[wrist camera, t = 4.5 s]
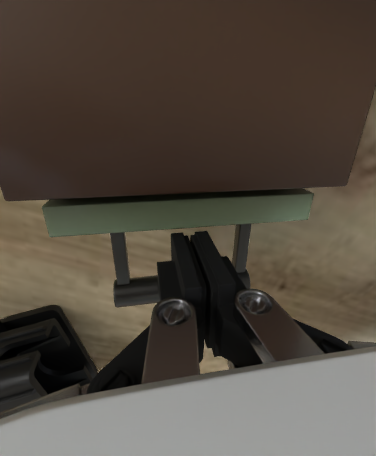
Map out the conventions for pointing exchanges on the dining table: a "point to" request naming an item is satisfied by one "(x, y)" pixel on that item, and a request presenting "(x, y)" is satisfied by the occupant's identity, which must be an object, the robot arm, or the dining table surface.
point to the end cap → (40, 356)
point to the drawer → (171, 224)
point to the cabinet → (181, 95)
